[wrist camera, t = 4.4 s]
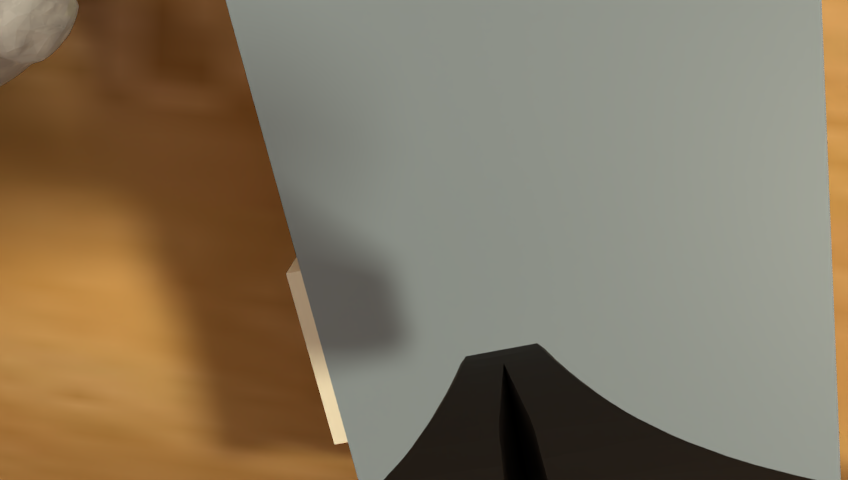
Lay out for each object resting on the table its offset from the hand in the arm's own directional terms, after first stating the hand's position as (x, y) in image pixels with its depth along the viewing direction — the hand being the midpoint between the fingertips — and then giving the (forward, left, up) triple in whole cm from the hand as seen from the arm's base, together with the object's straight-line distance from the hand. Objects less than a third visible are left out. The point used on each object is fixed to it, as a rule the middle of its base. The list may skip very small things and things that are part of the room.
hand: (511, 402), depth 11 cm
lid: (0, -1, -6) cm, 6 cm away
